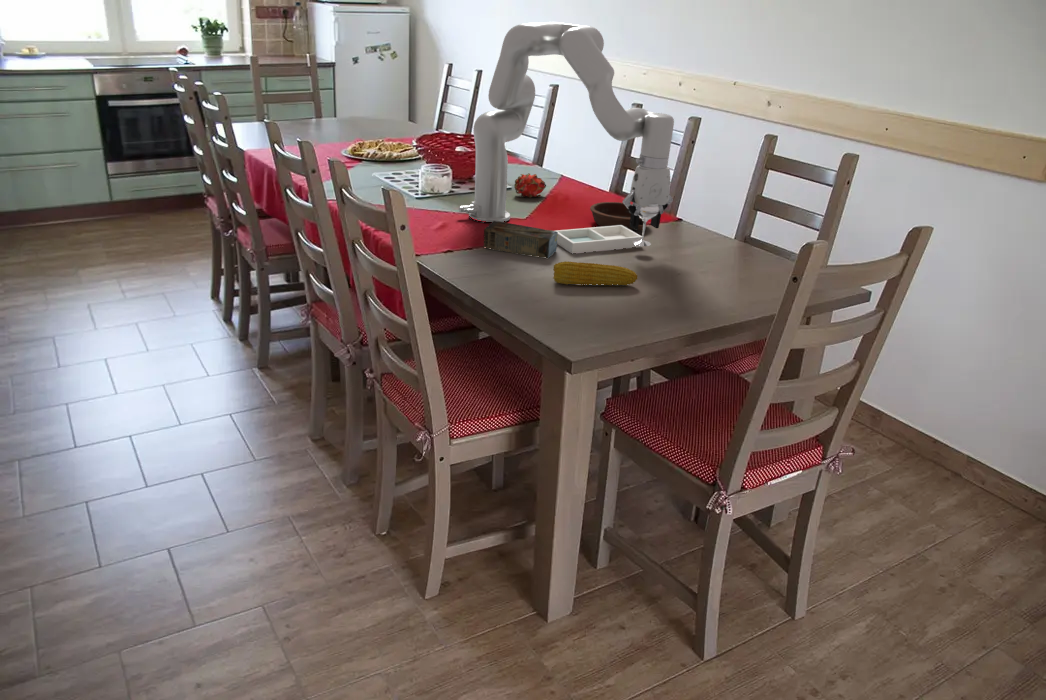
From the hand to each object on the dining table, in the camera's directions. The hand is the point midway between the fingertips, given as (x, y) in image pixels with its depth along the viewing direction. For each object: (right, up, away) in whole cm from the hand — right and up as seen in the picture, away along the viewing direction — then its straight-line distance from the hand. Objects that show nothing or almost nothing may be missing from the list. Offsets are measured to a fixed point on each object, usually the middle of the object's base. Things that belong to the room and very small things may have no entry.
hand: (644, 227), depth 227 cm
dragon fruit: (-31, +18, +52) cm, 63 cm away
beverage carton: (-34, -7, +1) cm, 35 cm away
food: (-16, -18, -20) cm, 31 cm away
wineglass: (0, -4, +2) cm, 5 cm away
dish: (-4, +5, +28) cm, 29 cm away
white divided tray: (-12, -3, +9) cm, 15 cm away
